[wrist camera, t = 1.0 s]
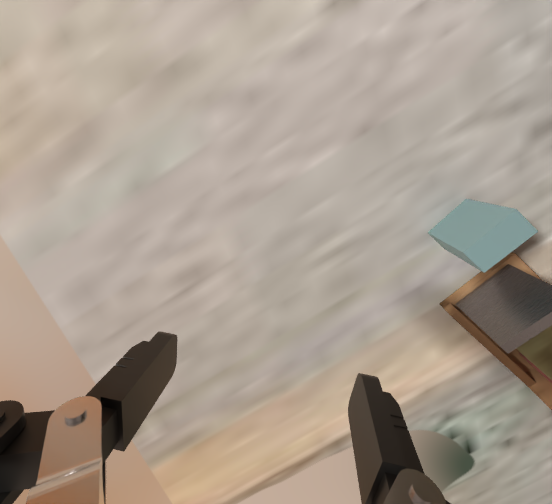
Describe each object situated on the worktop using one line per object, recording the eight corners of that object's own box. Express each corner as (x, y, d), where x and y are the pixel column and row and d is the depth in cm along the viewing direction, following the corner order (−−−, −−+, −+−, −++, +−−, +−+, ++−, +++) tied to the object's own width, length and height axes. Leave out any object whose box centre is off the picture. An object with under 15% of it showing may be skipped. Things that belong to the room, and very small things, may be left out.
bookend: (508, 263, 32) (574, 296, 24) (514, 270, 32) (583, 304, 24) (454, 304, 34) (499, 346, 26) (461, 310, 34) (508, 353, 26)
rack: (508, 250, 33) (589, 285, 23) (589, 331, 35) (695, 394, 25) (439, 303, 36) (487, 353, 26) (517, 375, 38) (588, 446, 28)
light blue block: (466, 198, 32) (516, 209, 24) (483, 215, 32) (538, 231, 24) (427, 232, 33) (463, 252, 26) (444, 248, 34) (484, 272, 26)
